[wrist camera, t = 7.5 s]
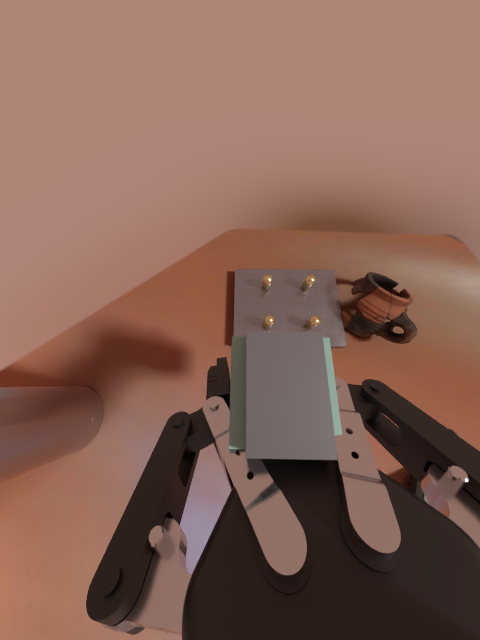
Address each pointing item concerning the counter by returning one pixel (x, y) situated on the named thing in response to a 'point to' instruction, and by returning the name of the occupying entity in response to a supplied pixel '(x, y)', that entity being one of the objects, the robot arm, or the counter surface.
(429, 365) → the counter surface
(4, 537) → the counter surface
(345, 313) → the pottery mug
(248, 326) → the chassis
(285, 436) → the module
